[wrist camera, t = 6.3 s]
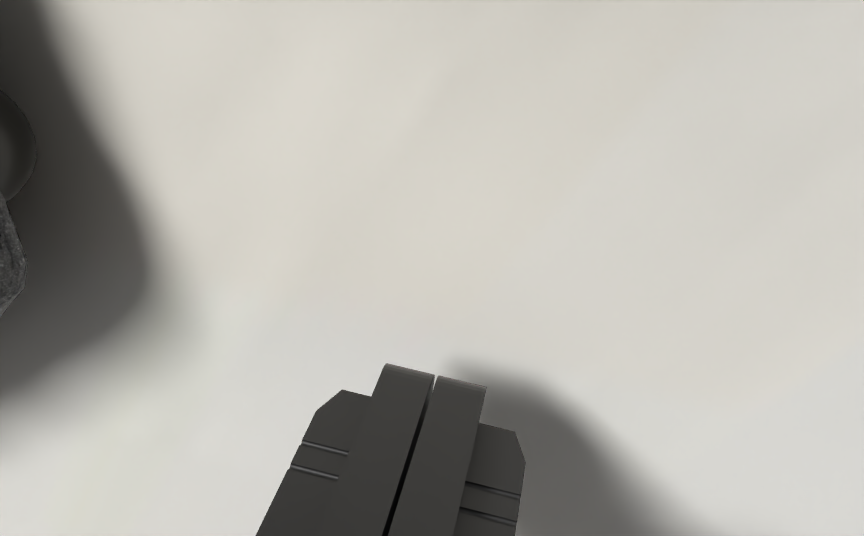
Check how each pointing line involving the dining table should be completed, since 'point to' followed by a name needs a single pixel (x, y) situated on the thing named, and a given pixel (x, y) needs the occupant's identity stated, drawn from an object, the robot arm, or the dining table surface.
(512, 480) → the robot arm
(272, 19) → the dining table surface
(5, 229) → the serving board
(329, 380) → the dining table surface
